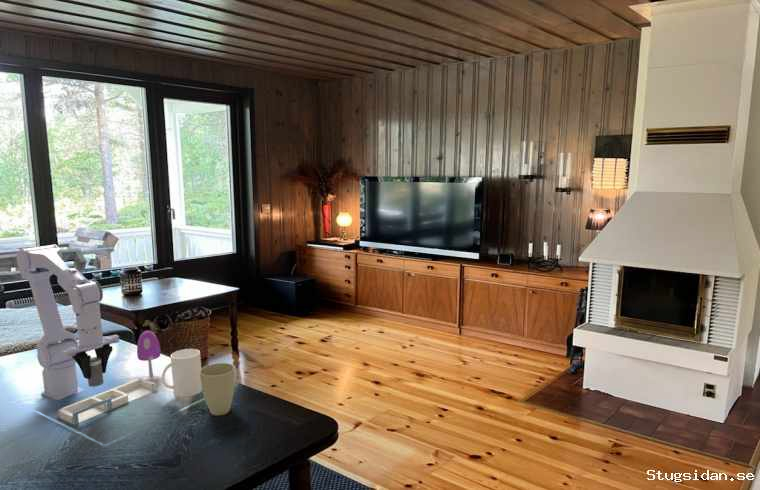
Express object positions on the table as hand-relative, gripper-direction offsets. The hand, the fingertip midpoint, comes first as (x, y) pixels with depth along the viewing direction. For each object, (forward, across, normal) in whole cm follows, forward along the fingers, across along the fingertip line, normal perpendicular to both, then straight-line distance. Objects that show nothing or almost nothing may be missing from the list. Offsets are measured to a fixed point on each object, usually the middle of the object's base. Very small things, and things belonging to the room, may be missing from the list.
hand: (94, 375), depth 143 cm
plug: (+2, 0, 0) cm, 3 cm away
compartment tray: (+10, +3, 0) cm, 11 cm away
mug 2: (+10, +17, -29) cm, 35 cm away
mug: (+10, +18, -12) cm, 24 cm away
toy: (+10, +22, +8) cm, 25 cm away
